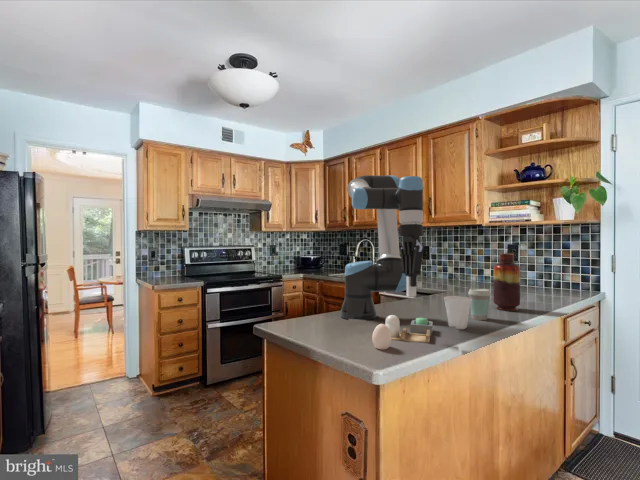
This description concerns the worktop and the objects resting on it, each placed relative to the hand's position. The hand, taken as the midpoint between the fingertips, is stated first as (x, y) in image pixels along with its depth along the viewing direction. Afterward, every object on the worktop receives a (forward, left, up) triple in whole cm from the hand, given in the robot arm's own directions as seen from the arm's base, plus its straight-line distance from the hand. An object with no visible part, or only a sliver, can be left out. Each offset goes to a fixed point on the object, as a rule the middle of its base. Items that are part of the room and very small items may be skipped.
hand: (411, 296), depth 116 cm
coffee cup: (+24, +41, -14) cm, 50 cm away
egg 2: (-6, -1, -13) cm, 15 cm away
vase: (+38, +67, -14) cm, 78 cm away
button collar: (+3, +8, -14) cm, 16 cm away
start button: (+3, +8, -13) cm, 16 cm away
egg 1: (-7, -15, -14) cm, 22 cm away
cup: (+15, +22, -14) cm, 30 cm away
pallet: (-2, -1, -14) cm, 14 cm away
